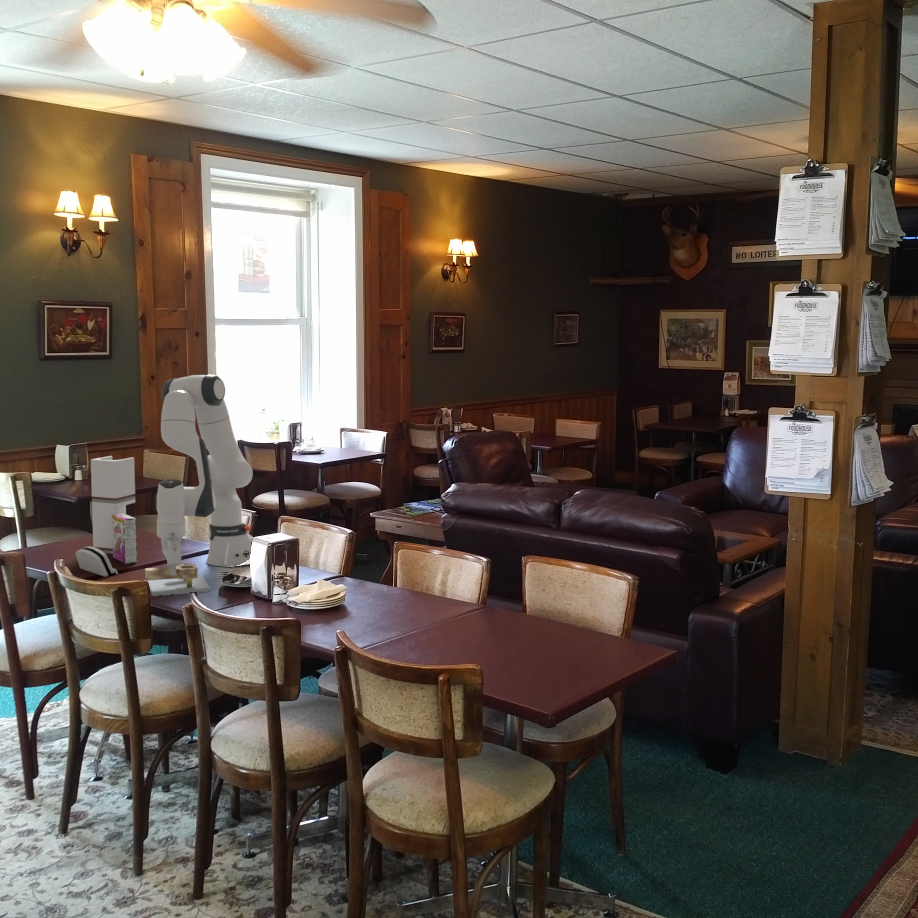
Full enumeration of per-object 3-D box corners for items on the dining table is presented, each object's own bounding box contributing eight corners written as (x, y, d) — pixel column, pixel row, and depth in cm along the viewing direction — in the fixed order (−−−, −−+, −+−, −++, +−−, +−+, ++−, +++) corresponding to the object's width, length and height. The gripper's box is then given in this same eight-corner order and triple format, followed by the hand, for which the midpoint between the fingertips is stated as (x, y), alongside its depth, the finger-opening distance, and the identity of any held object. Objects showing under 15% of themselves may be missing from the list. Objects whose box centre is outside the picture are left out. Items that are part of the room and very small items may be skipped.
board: (201, 578, 337) (201, 574, 337) (210, 591, 321) (210, 587, 321) (146, 582, 330) (146, 578, 330) (152, 596, 314) (152, 592, 314)
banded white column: (117, 554, 368) (115, 461, 363) (93, 552, 371) (90, 459, 367) (136, 548, 379) (134, 457, 374) (112, 545, 382) (110, 455, 377)
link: (195, 573, 325) (195, 564, 325) (197, 578, 320) (197, 568, 319) (144, 577, 319) (144, 567, 319) (146, 581, 314) (146, 571, 313)
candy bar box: (111, 558, 362) (110, 514, 360) (125, 556, 365) (124, 512, 363) (124, 564, 354) (123, 519, 352) (137, 562, 357) (136, 517, 355)
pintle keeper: (191, 579, 335) (191, 562, 334) (197, 589, 322) (197, 571, 322) (166, 581, 331) (166, 564, 330) (171, 592, 319) (171, 573, 318)
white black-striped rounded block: (118, 574, 340) (109, 548, 336) (107, 581, 337) (97, 555, 333) (93, 565, 351) (83, 541, 347) (81, 572, 348) (71, 547, 344)
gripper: (185, 536, 309) (186, 579, 311) (177, 524, 328) (178, 565, 330) (164, 537, 307) (165, 581, 309) (157, 525, 326) (158, 566, 327)
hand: (171, 572), depth 319 cm, fingers closed on link, 3 cm apart
